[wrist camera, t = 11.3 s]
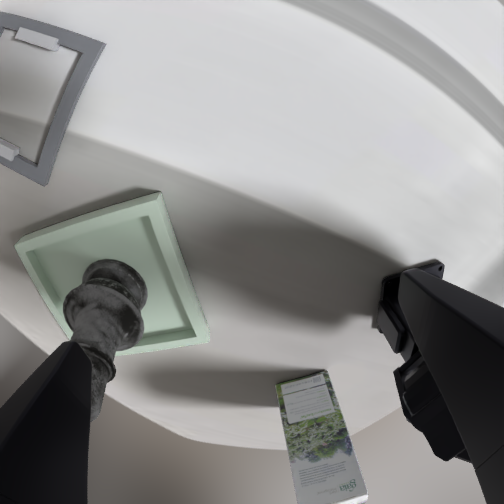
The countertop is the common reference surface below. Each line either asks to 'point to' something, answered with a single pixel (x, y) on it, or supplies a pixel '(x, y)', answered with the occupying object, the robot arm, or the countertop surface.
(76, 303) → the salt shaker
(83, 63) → the socket
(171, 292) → the tray
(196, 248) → the countertop surface
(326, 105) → the countertop surface
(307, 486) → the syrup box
